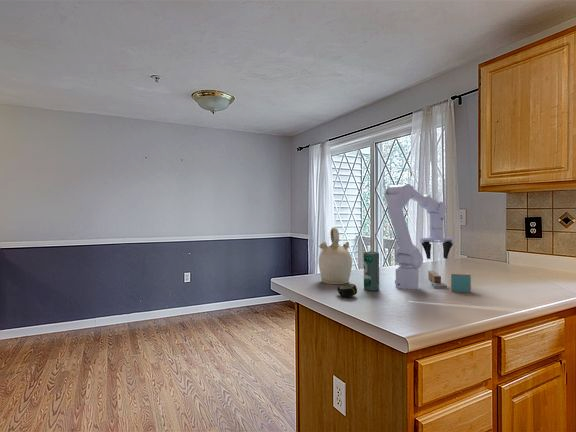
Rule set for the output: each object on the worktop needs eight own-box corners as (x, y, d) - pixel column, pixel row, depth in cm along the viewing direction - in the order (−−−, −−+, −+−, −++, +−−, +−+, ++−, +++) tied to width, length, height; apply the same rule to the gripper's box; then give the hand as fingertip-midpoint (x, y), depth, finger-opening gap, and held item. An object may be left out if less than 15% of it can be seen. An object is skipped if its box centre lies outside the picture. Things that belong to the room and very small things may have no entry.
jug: (317, 285, 151) (316, 228, 150) (320, 278, 166) (319, 226, 166) (352, 285, 148) (352, 228, 148) (352, 278, 164) (351, 226, 163)
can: (363, 287, 146) (363, 251, 146) (378, 287, 145) (377, 251, 145) (364, 290, 140) (364, 253, 140) (379, 290, 139) (379, 253, 139)
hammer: (425, 279, 161) (425, 270, 161) (437, 279, 160) (436, 271, 160) (434, 288, 142) (434, 278, 142) (447, 288, 141) (447, 279, 141)
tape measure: (355, 290, 134) (353, 281, 133) (359, 296, 127) (357, 286, 127) (338, 294, 134) (336, 285, 133) (341, 300, 127) (339, 291, 126)
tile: (451, 291, 136) (451, 273, 136) (450, 290, 139) (450, 272, 139) (470, 292, 134) (470, 274, 134) (469, 291, 136) (469, 273, 136)
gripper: (424, 229, 150) (424, 260, 150) (457, 228, 150) (457, 259, 151) (418, 228, 157) (418, 257, 158) (449, 227, 158) (449, 257, 158)
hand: (437, 258), depth 155 cm, fingers open, 7 cm apart
